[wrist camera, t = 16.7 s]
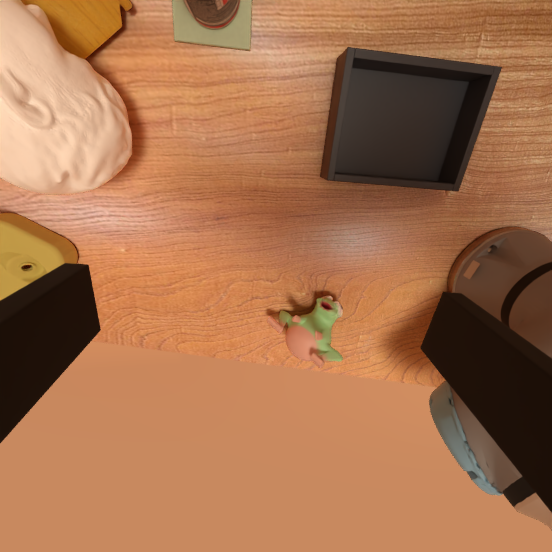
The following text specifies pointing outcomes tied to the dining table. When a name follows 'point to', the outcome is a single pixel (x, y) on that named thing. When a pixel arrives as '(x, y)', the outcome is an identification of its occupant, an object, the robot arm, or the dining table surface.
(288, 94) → the dining table surface
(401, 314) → the dining table surface
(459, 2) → the dining table surface
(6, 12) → the bust
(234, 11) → the pill bottle
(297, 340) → the frog
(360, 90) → the tote
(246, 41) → the mat
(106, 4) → the orange boxy piece
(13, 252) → the plastic component
